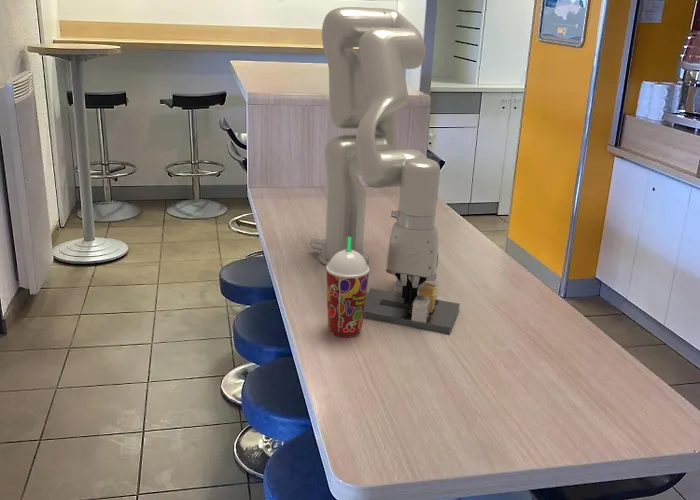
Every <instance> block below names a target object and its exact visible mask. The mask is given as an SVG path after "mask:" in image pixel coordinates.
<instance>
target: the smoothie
mask: <svg viewBox="0 0 700 500" xmlns="http://www.w3.org/2000/svg"><path fill="white" fill-rule="evenodd" d="M325 266H326V267H325V268H326V297H327V298H326V301H327V302H326V303H327V305H326V306H327V307H326V309H327V326H328V328H329V330H330V332H331V334H333V335H335V336H337V337H338V338H351V337H354V336H356V335H358V334H359V332H360V330H361V329H362V327H363V320H364V318H363V314H364V307H365V299H366V294H367V293H368V292H367V290H368V284H369V283H368V282H369V277H370V266H369V265H368V263H366V261H365V259H364V257H363V256H362V255H361V254H360V253H358V252H356V251H354V250H351V237H348V246H347V250H342V251H339V252H338V253H336V254H335V255H334V256H333V257H332V259H331V260H330V262H329V263H328V265H325Z"/></svg>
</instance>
